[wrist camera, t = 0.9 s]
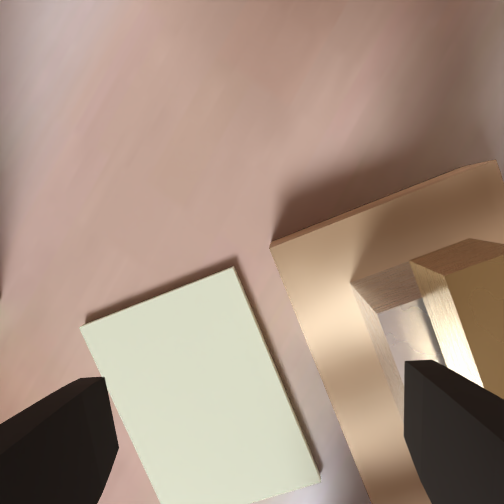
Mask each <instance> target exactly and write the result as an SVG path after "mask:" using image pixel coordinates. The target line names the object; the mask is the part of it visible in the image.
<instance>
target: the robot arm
mask: <svg viewBox="0 0 504 504" xmlns="http://www.w3.org/2000/svg"><path fill="white" fill-rule="evenodd" d="M404 439H405V442H406V444H407V447H408V450H409V452H410V455H411V458H412V461H413V463H414V466H415V468H416V471H417V473H418V476H419V479H420V481H421V483H422V485H423V487H424V489H425V491H426V493H427V495H428V497H429V499H430V501H431V503H432V504H504V399H502V398H500V397H499V396H497V395H495V394H493V393H492V392H490V391H488V390H486V389H485V388H483V387H481V386H479V385H478V384H476V383H474V382H472V381H471V380H469V379H467V378H465V377H464V376H462V375H460V374H458V373H456V372H455V371H453V370H451V369H449V368H447V367H446V366H444V365H442V364H440V363H438V362H436V361H434V360H413V361H405V363H404ZM118 449H119V446H118V441H117V436H116V431H115V426H114V421H113V416H112V411H111V406H110V401H109V396H108V391H107V386H106V381H105V377H91V378H80V379H78V380H76V381H73V382H71V383H69V384H68V385H66V386H64V387H62V388H60V389H59V390H57V391H55V392H53V393H52V394H50V395H48V396H46V397H45V398H43V399H41V400H40V401H38V402H36V403H35V404H33V405H31V406H30V407H28V408H26V409H25V410H23V411H21V412H20V413H18V414H16V415H15V416H13V417H12V418H10V419H8V420H7V421H5V422H3V423H2V424H0V504H97V503H98V501H99V499H100V497H101V495H102V493H103V490H104V488H105V485H106V482H107V480H108V477H109V475H110V472H111V469H112V466H113V463H114V460H115V458H116V455H117V452H118Z"/></svg>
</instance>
